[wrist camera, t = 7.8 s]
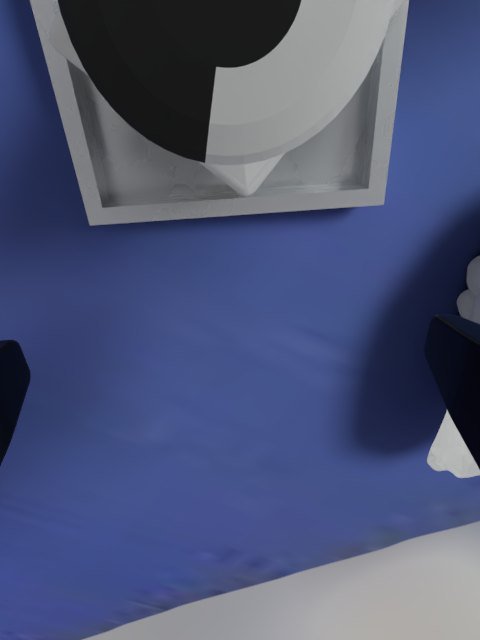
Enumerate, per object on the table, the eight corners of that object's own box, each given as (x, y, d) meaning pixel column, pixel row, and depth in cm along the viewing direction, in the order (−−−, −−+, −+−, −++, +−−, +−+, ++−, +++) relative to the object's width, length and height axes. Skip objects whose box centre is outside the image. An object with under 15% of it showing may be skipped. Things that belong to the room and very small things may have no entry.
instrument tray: (418, -235, 13) (443, -275, 12) (371, 194, 21) (383, 204, 19) (-4, -202, 13) (-34, -236, 12) (99, 214, 21) (89, 225, 19)
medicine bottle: (106, 51, 17) (-78, 22, 7) (206, -144, 14) (152, -720, 4) (241, 162, 19) (258, 264, 9) (349, 15, 16) (551, -75, 6)
